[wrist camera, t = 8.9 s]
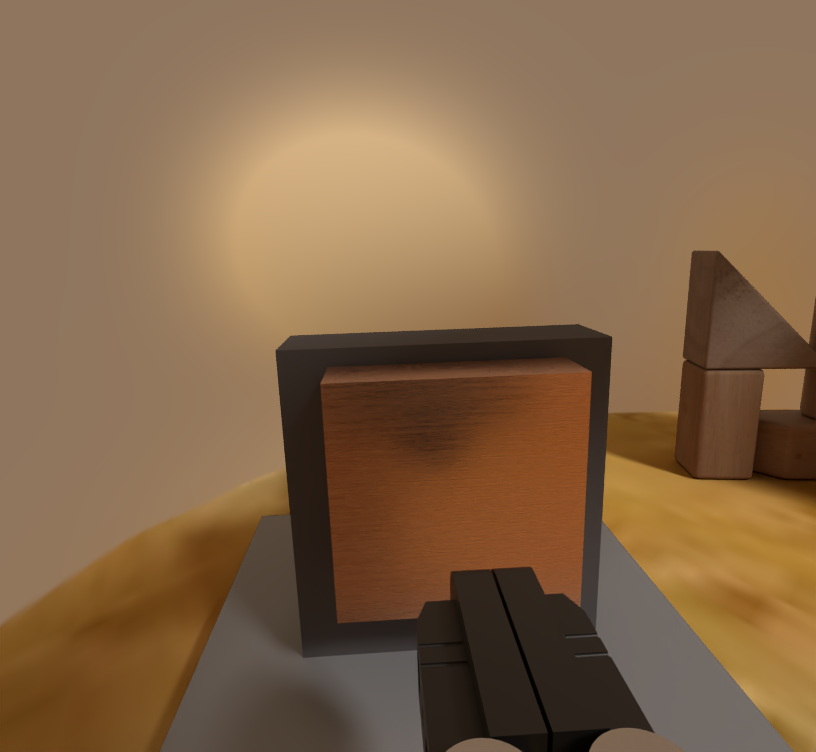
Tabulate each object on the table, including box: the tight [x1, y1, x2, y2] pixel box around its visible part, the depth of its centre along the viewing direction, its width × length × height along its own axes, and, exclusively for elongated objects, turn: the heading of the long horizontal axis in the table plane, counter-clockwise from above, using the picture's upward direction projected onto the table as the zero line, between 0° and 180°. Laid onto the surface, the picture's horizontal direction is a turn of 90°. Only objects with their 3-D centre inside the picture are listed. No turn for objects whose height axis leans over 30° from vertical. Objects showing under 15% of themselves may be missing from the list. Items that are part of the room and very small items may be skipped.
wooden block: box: [675, 251, 816, 479], centre depth 33 cm, size 4×11×18 cm, turn 84°
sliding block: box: [320, 357, 592, 623], centre depth 21 cm, size 7×14×7 cm, turn 3°
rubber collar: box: [276, 324, 612, 658], centre depth 18 cm, size 10×3×10 cm, turn 93°
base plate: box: [160, 515, 794, 752], centre depth 20 cm, size 17×17×2 cm
